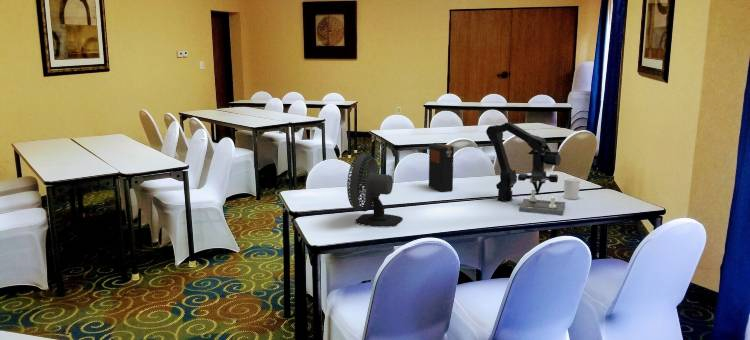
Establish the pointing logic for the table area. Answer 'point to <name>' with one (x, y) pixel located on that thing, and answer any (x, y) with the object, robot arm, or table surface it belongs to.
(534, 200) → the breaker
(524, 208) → the board
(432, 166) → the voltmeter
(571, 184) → the white cup
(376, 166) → the fan
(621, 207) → the table surface
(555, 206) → the block
